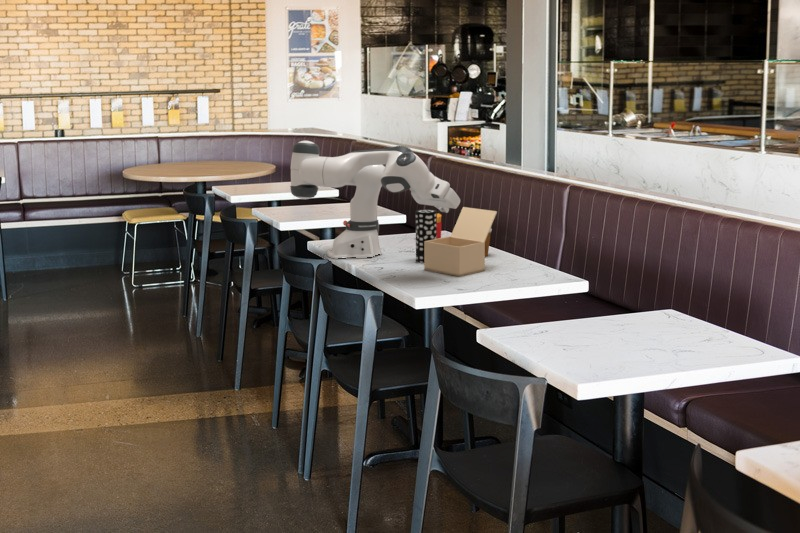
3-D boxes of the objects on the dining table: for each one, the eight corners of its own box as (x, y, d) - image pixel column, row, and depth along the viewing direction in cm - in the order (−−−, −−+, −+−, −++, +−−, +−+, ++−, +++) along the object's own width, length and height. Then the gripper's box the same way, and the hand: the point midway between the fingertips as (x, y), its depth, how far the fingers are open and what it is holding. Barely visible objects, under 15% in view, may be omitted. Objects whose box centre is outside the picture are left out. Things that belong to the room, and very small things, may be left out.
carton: (459, 276, 357) (459, 247, 354) (424, 269, 369) (424, 241, 367) (484, 270, 366) (484, 242, 364) (449, 264, 379) (449, 236, 376)
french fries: (425, 241, 427) (425, 212, 424) (433, 240, 429) (433, 211, 426) (435, 245, 419) (435, 215, 416) (444, 244, 421) (444, 214, 418)
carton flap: (496, 211, 367) (497, 211, 367) (463, 206, 379) (463, 207, 379) (483, 241, 364) (484, 242, 365) (450, 236, 376) (451, 237, 376)
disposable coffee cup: (493, 253, 398) (493, 225, 396) (489, 258, 389) (489, 228, 387) (470, 252, 401) (471, 224, 398) (466, 257, 392) (466, 228, 390)
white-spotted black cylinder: (422, 258, 391) (422, 209, 387) (440, 260, 387) (440, 210, 383) (412, 262, 384) (411, 211, 380) (430, 264, 380) (430, 213, 376)
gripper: (402, 191, 357) (421, 214, 366) (443, 196, 343) (461, 220, 351) (411, 178, 359) (429, 201, 368) (451, 182, 345) (470, 206, 353)
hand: (445, 210), depth 359 cm, fingers closed
